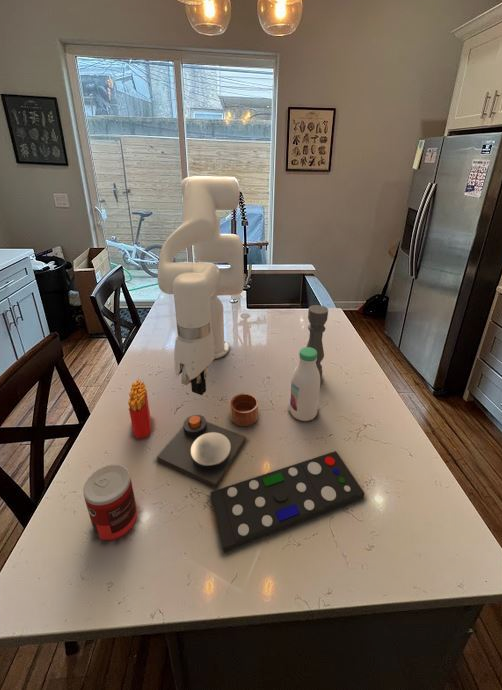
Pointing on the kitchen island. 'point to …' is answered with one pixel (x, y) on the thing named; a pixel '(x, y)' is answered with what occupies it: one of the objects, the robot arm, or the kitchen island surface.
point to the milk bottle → (305, 386)
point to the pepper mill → (317, 332)
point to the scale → (180, 452)
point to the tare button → (194, 421)
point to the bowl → (244, 409)
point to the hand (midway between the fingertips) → (199, 391)
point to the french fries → (139, 410)
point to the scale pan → (210, 449)
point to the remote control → (282, 499)
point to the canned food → (110, 502)
